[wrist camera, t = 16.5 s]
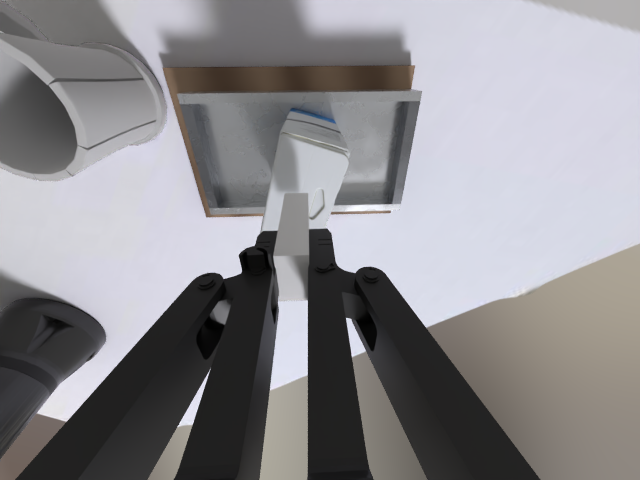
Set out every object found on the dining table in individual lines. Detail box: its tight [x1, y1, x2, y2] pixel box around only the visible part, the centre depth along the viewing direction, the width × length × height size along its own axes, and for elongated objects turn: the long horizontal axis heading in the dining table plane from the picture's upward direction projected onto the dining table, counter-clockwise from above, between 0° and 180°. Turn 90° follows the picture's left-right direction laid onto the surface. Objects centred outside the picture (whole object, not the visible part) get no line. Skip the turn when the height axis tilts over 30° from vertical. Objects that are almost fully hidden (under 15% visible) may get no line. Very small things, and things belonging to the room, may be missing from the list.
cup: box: [0, 1, 167, 181], centre depth 21 cm, size 10×9×12 cm
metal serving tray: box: [177, 89, 422, 215], centre depth 27 cm, size 22×12×3 cm, turn 90°
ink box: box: [260, 108, 350, 234], centre depth 23 cm, size 8×5×12 cm, turn 163°
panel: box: [163, 65, 415, 217], centre depth 29 cm, size 24×16×1 cm, turn 90°
